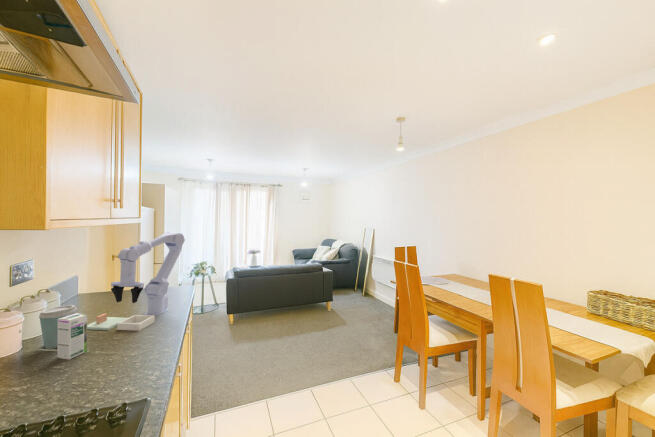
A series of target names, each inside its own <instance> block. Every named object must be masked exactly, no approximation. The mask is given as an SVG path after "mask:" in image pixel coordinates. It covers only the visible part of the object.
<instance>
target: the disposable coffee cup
mask: <svg viewBox="0 0 655 437" xmlns="http://www.w3.org/2000/svg"><path fill="white" fill-rule="evenodd" d="M75 313H78V308H77V307H76V305H74V304H69V305H61V306H55V307H51V308H47V309H44V310H42V311H41V312H40V313H39V316H38V318H39V321H40V328H41V334H42V341H43V347H44V348H45V350H51V349H56V348H57V349H58V319H59V318H63V317H66V316H69V315H72V314H75Z"/></svg>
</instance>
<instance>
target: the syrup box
mask: <svg viewBox="0 0 655 437" xmlns="http://www.w3.org/2000/svg"><path fill="white" fill-rule="evenodd" d="M87 325H88V315H87V314H85V313H82V312H79V313H78V312H76V313H75V314H72V315H69V316H66V317H63V318H59V319H58V347H57V358H58V359H64V360H69V361H70V360H72V359H74V358H75V357H78V356H80V355H82V354H84V353H87V351H88V350H87V348H88V347H87V345H88V339H87V338H88V335H87V334H88V329H87Z"/></svg>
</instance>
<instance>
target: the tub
mask: <svg viewBox="0 0 655 437" xmlns="http://www.w3.org/2000/svg"><path fill="white" fill-rule="evenodd" d="M155 316H156V315H144V314H133V315H131V316H130V317H126V318H127V319H125V320H123V321H121V322H119V323H117V326H116V328H117V331H137V332H138V331H141V330H142V329H144V328H146V327H148V326H150V325H152V324H153V323H155V321H156V319H155V318H156V317H155Z"/></svg>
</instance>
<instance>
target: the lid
mask: <svg viewBox="0 0 655 437" xmlns="http://www.w3.org/2000/svg"><path fill="white" fill-rule="evenodd" d="M127 318H128V317H116V316H108V314H107V313H106V312H105V313H102V314H99V315H97V316H96V319H95V320H96V321H94V322H91V323H88V324H87V330H97V331H110V330H112V329H113V328H116V327H117V323H119V322H121V321H123V320H125V319H127Z"/></svg>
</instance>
